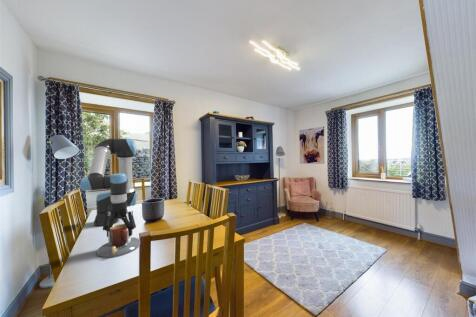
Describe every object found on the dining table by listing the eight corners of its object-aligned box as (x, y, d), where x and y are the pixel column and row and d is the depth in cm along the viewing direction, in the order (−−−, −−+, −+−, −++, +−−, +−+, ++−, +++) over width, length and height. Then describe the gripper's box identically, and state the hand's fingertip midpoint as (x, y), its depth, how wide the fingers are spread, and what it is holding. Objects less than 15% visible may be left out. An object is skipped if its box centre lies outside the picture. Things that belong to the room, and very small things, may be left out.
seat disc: (106, 242, 109) (106, 234, 109) (143, 237, 115) (143, 229, 114) (89, 260, 90) (89, 250, 90) (135, 254, 95) (135, 245, 95)
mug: (107, 246, 101) (106, 227, 101) (124, 240, 108) (123, 223, 108) (117, 251, 94) (116, 231, 94) (134, 244, 102) (133, 226, 102)
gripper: (93, 203, 97) (94, 246, 98) (135, 202, 99) (136, 244, 99) (103, 200, 105) (103, 239, 105) (142, 199, 106) (143, 238, 106)
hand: (119, 241), depth 102 cm, fingers open, 9 cm apart
